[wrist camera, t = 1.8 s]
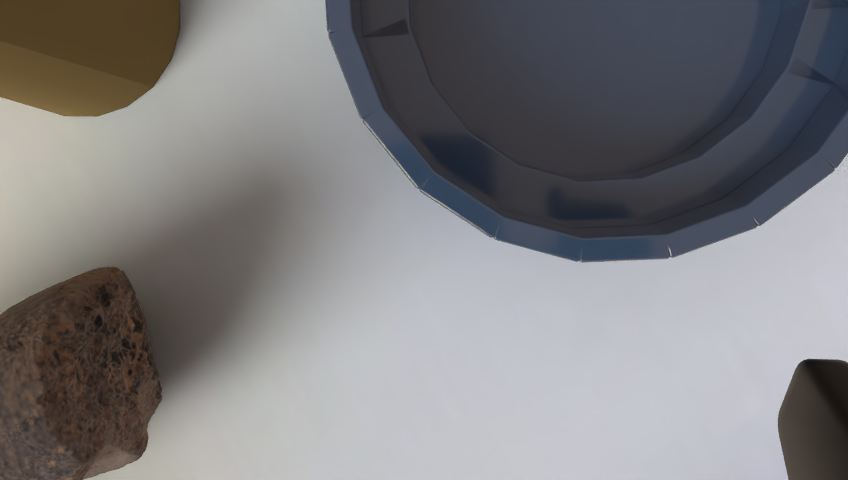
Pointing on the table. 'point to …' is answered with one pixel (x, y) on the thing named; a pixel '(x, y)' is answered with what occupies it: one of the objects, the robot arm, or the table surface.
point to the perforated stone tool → (75, 380)
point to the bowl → (602, 113)
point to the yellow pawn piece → (84, 52)
